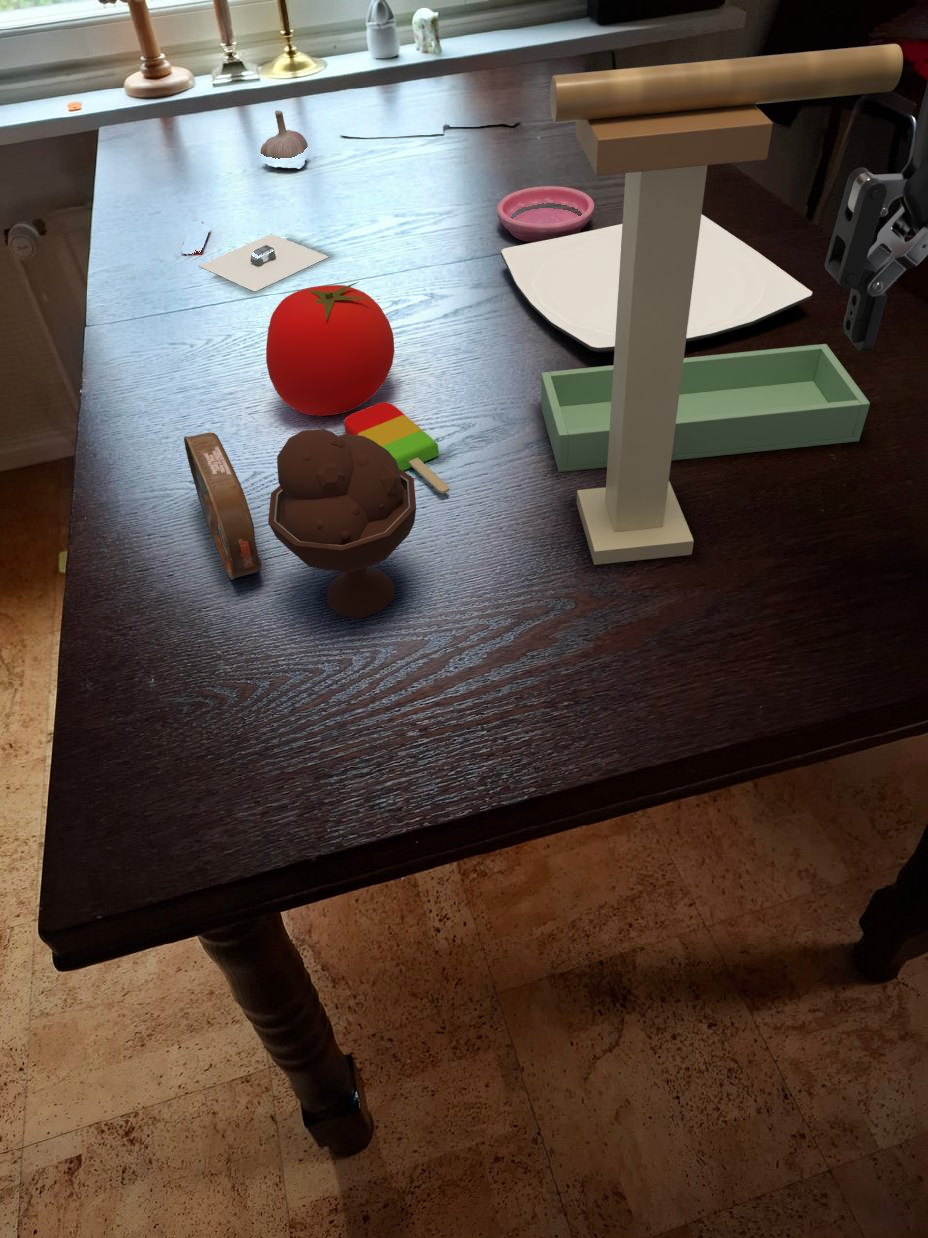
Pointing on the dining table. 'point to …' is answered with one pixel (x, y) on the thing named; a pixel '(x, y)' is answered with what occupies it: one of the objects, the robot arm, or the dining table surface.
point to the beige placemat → (263, 262)
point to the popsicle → (397, 439)
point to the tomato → (328, 349)
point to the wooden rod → (725, 83)
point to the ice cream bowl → (343, 513)
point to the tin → (223, 504)
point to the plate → (589, 279)
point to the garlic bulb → (284, 142)
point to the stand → (654, 311)
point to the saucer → (545, 213)
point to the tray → (716, 406)
